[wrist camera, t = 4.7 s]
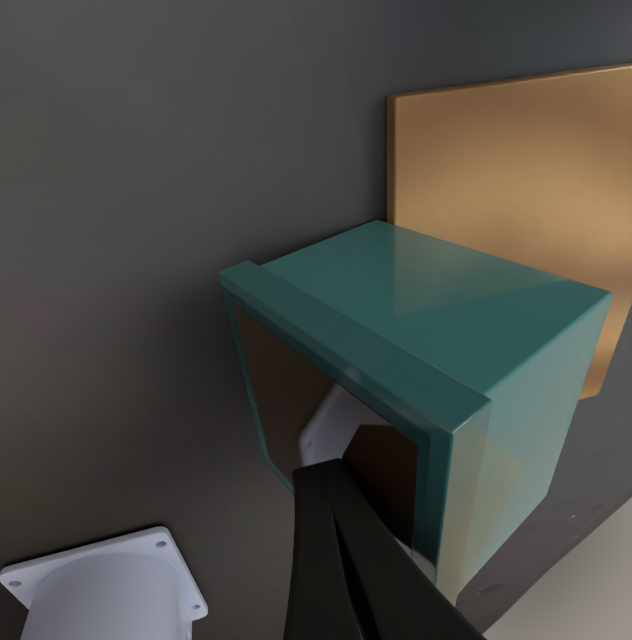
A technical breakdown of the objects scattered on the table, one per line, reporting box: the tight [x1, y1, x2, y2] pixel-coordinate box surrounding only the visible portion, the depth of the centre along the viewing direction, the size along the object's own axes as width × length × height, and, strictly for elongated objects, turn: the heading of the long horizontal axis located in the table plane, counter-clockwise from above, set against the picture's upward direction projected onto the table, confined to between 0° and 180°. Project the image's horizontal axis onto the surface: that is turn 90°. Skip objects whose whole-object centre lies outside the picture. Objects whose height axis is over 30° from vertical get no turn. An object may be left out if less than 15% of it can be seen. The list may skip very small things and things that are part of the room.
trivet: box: [387, 62, 632, 400], centre depth 18 cm, size 16×12×1 cm
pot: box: [218, 220, 613, 607], centre depth 13 cm, size 9×6×8 cm
